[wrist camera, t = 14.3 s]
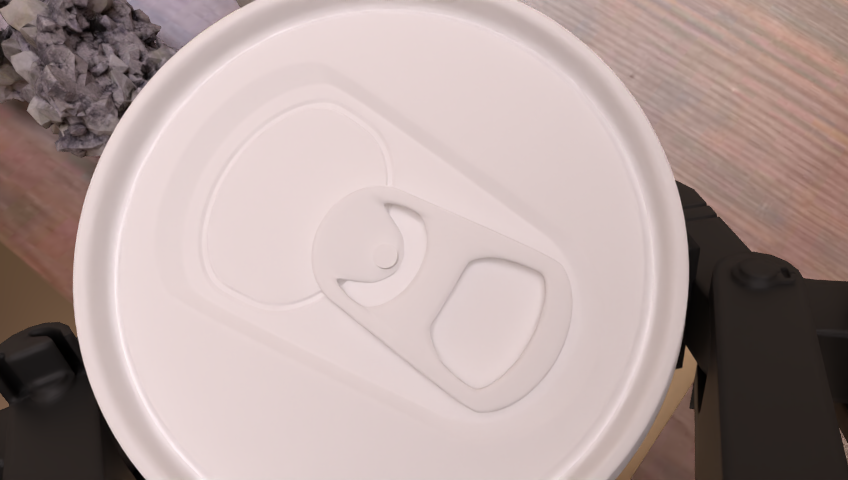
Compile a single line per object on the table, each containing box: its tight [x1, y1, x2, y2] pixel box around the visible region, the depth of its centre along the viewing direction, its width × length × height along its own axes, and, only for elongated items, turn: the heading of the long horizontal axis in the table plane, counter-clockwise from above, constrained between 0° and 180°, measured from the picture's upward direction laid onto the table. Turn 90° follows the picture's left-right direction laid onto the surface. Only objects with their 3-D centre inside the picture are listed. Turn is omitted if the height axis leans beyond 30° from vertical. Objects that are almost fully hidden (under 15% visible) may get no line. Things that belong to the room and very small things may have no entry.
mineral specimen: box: [0, 0, 177, 158], centre depth 31 cm, size 12×9×10 cm
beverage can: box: [73, 0, 689, 480], centre depth 13 cm, size 8×8×12 cm
